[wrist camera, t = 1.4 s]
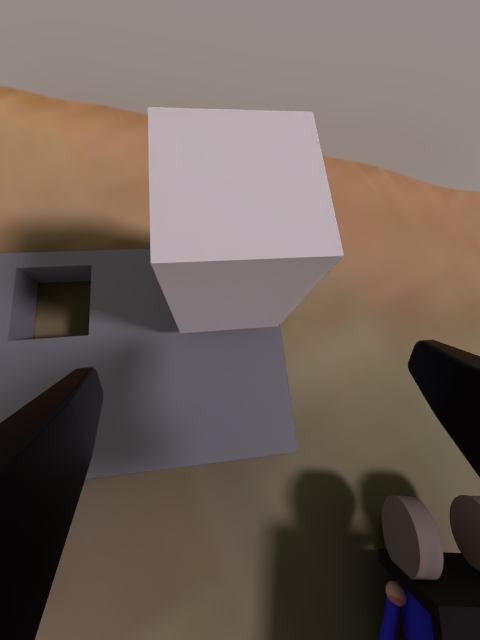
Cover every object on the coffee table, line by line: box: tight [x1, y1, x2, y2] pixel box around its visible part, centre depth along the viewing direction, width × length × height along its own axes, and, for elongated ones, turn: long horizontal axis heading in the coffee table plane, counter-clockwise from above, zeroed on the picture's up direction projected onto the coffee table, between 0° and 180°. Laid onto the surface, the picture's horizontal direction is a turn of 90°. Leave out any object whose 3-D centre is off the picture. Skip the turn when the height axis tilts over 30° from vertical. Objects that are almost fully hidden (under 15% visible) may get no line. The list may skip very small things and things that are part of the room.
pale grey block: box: [148, 107, 344, 333], centre depth 15 cm, size 6×6×11 cm
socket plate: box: [0, 248, 298, 480], centre depth 19 cm, size 14×18×2 cm
